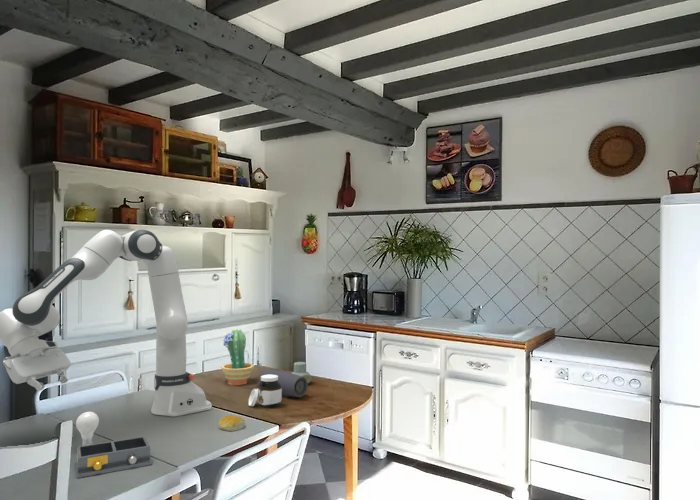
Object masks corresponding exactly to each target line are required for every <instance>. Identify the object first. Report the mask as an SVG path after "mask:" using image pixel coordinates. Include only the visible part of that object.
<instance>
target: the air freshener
mask: <svg viewBox="0 0 700 500" xmlns="http://www.w3.org/2000/svg"><path fill="white" fill-rule="evenodd" d="M291 373H292V374H296V375H299V376H302V377H304V378H305V379H306V380H307V383H308V384H309V383H310V382H311V380H312V375H311V374H310V373H309V372H308V371H307V363H306V362H304V361H296V362H294V363H293V371H292V372H291Z"/></svg>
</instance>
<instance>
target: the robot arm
mask: <svg viewBox="0 0 700 500" xmlns="http://www.w3.org/2000/svg"><path fill="white" fill-rule="evenodd" d="M173 251H174V250H172V248H171V247H170V246H166V245H162V243H161V242H160V240H159V239H158V237H157V236H156V234H155V233H153V232H152V231H150V230H146V229H138V230H133V231H132V230H131V231H130V232H129V231H128V233H124V234H121V235H120V234H119V233H117V232H116V231H113V230H111V229H103V230H101V231H99V232H97V234H95V235H94V236H92V237H91V238H90V239H89V240H88V241H87V242H86V243H85V244H84V245H83V246H82V247H81V248H80V249H79V250H78V251H77V252H76V253H75V254H74V255H73V256H71V258H68V260H66V261H64V262H63V263H62V264H60V265H59V266H58V267H57V268H56V269H55V270H54V271H52V272H51V274H49V275H48V276H47V277H45V279H44V280H42V281H41V282H40V283H39V284H38V285H37V286H36V287H33V289H31V290H29V291H26V293H24V294H21V295H20V296H19V297H18V298H17V299H16V300H15V301H14V303H13V306H12V308H11V307H10V308H5V309H3V310H1V311H0V342H1V344H2V345H3V346H5V347H6V348H7V350H8V354H9V355H10V356H6V357H4V359H3V360H2V364H3V366H4V367H5V371H6V372H7V374H8V376H9V378H10V380H11V381H12V382H13V383H14V384H16V385H19V384H22V383H27V384H28V385H29V386H31V387H33V388H35V389H36V392H37V391H38V392H39V391H42V390H44V389H45V385H44V383H43V382H39V381H38V379H42V378H45V377H49V376H53V375H57V376H59V380H58V381H59V382H60V384H63V385H64V384H66V383H67V382H68V381H69V378H68V377H67V374H66V371H67V370H68V369H69V368H70V367H71V360H70V359H69V357H68V356H67V355H66V353H65V352H64V350H62V349H61V348H59V344H58V343H57V342H56V341H51V340H44V339H39V337H41V336H43V335H46V334H48V333H50V332H51V331H53V330H55V329H56V328H57V326H58V325H59V324H60V321H61V315H60V312H59V310H58V309H57V308H56V307H55V306H54V305H53V301H54V300H55V299H56V298H57V297H58V296H59V295H60V294H61V293H62V292H63V291H64V290H66V289H67V287H68V286H69V285H70V284H72V283H73V282H75V281H79V280H80V281H82V280H83V281H94V280H96V279H98V278H99V277H101V275H103V274H104V273H105V272H106V270H108V269H109V268H110V266H111V265H112V264H113V263H114V262H115V260H117V259H118V258H120V259H122V260H125V261H128V262H137V261H139V262H140V261H142V262H143V263H144V264H145V266H146V268H147V274H148V281H149V286H150V292H151V293H150V294H151V299H152V304H153V305H152V306H153V311H154V317H155V322H156V324H155V326H156V329H155V330H156V331H155V333H156V336H155V340H156V343H155V344H156V345H155V346H156V347H155V351H156V353H155V354H156V355H155V374H154V379H153V381H154V383H153V388H154V396H153V402H152V404H151V409H150V413H151V414H153V415H157V416H168V417H179V416H180V417H181V416H184V415H189V414H194V413H199V412H205V411H208V410H211V409H212V407H213V405H212V403H211V401H209V400H207V397H206V393H205V391H204V390H203V388H201V386H199V385H197V384H195V383H194V382H192V381H193V380H194V379H195V375H194V374H193V373H190V372H187V333H186V332H187V331H188V328H189V322H188V315H187V310H186V306H185V301H184V300H185V299H184V296H183V292H182V291H183V290H182V284H181V279H180V272H179V268H178V263H177V260H176V256H175V253H174V252H173Z"/></svg>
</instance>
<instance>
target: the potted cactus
mask: <svg viewBox="0 0 700 500" xmlns="http://www.w3.org/2000/svg"><path fill="white" fill-rule="evenodd" d="M246 341H247V338H246V335H245V334H244V332H243V331H242V329H232V331H231V332H228V333H226V335H224V337H223V345H224V346H227V350H228V352H229V356H230V363H225V364H223V365H221V370H222V372H223V373H224V377H225V378H226V379H227V384H228V385H231V386H241V385H246V384H247V383H248V379H249V377H250V376H251V374H252V371H253V370H254V367H255V364H253V363H249V362H246V361H245V350H246V343H247V342H246Z"/></svg>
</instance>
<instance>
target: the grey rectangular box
mask: <svg viewBox="0 0 700 500" xmlns="http://www.w3.org/2000/svg"><path fill="white" fill-rule="evenodd" d="M152 464H153V461H152V458H151V445H150V443H149V441H148V440H147V436H145V435H144V436H138V437H131V438H124V439H118V440H112V441H106V442H99V443H92V444H91V445H85V446H82V445H80V446H76V458H75V468H76V469H75V470H76V471H75V472H76V478H77V479H80V478H85V477H92V476H97V475H103V474H107V473H113V472H118V471H124V470H129V469H136V468H141V467H146V466H151V465H152Z"/></svg>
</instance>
